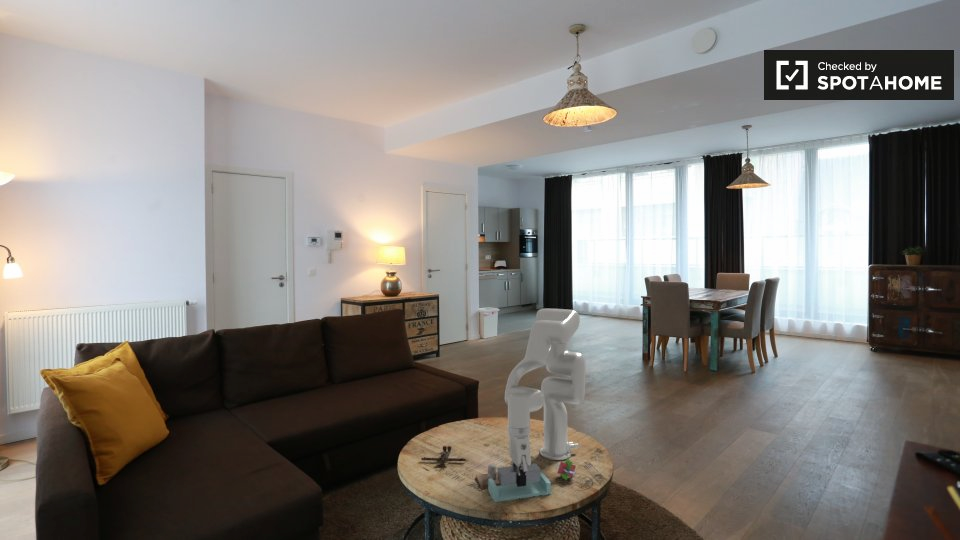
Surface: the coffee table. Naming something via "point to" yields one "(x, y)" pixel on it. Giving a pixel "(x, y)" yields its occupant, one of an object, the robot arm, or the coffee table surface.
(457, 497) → the coffee table surface
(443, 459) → the bear figurine
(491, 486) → the slot holder
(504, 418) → the coffee table surface
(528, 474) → the steel bar
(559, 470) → the geometric puzzle
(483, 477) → the peg stand
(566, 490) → the coffee table surface
